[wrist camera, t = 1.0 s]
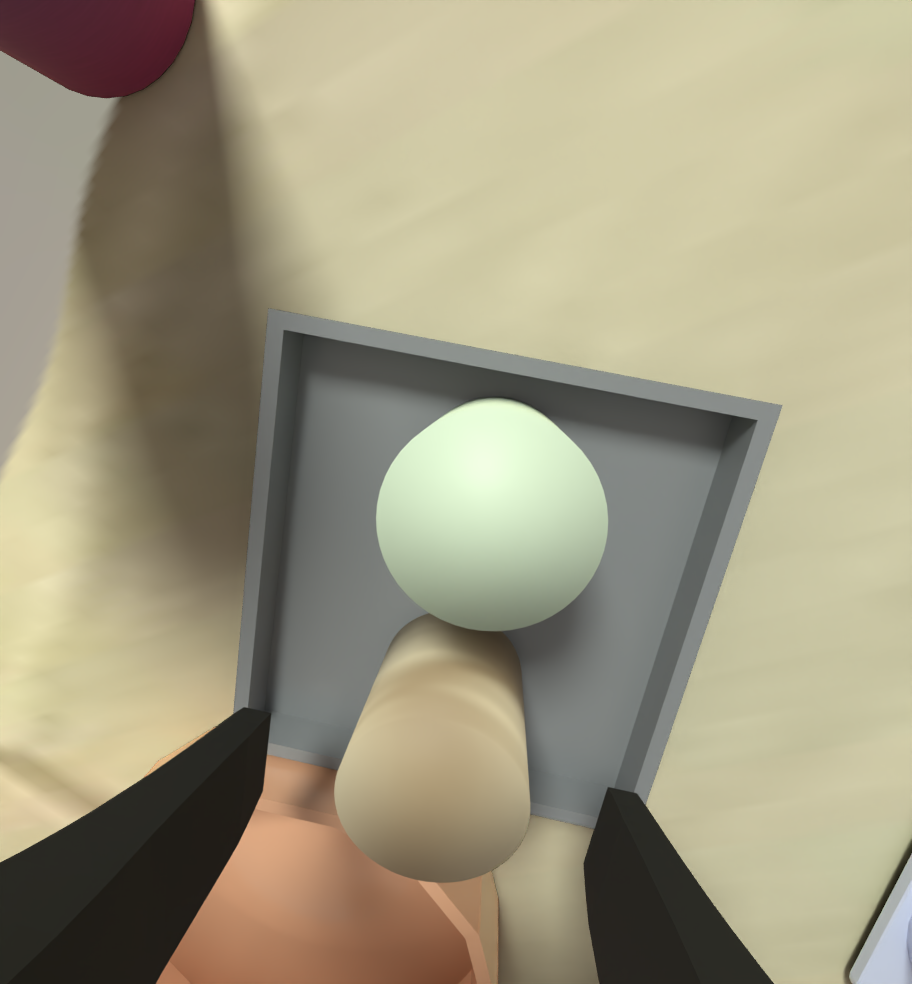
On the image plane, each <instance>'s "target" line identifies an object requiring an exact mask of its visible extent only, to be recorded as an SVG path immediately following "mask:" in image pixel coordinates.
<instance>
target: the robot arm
mask: <svg viewBox="0 0 912 984" xmlns="http://www.w3.org/2000/svg"><path fill="white" fill-rule="evenodd" d="M270 722H271V713H269V712H265V711H260V710H256V709H251V708H246V707H243V708H241V709H240V710H238V711H237V712H235V713H234V714H233V715H231V716H230V717H229V718H227V719H226V720H224V721H223V722H222V723H220V724H219V725H218V726H216V727H215V728H214V729H212V730H211V731H209V732H208V733H207V734H205V735H204V736H203V737H201V738H200V739H199V740H197V741H196V742H194V743H193V744H192V745H190V746H189V747H187V748H186V749H185V750H183V751H182V752H180V753H179V754H178V755H176V756H175V757H173V758H172V759H170V760H169V761H168V762H166V763H165V764H163V765H162V766H160V767H159V768H157V769H156V770H155V771H153V772H152V773H150V774H149V775H147V776H146V777H144V778H143V779H141V780H140V781H138V782H137V783H135V784H134V785H132V786H131V787H129V788H127V789H126V790H124V791H123V792H121V793H120V794H118V795H116V796H115V797H113V798H112V799H110V800H109V801H107V802H106V803H104V804H102V805H101V806H99V807H98V808H96V809H95V810H93V811H91V812H90V813H88V814H86V815H85V816H83V817H81V818H80V819H78V820H76V821H75V822H73V823H71V824H70V825H68V826H66V827H64V828H63V829H61V830H59V831H58V832H56V833H54V834H52V835H50V836H49V837H47V838H45V839H43V840H41V841H40V842H38V843H36V844H34V845H33V846H31V847H29V848H27V849H25V850H23V851H22V852H20V853H18V854H16V855H14V856H12V857H10V858H8V859H6V860H4V861H2V862H0V984H156V983H157V981H158V979H159V977H160V975H161V974H162V972H163V970H164V969H165V967H166V965H167V964H168V962H169V960H170V958H171V957H172V955H173V953H174V952H175V950H176V948H177V947H178V945H179V943H180V942H181V940H182V938H183V937H184V935H185V933H186V932H187V930H188V928H189V927H190V925H191V923H192V922H193V920H194V918H195V917H196V915H197V913H198V912H199V910H200V908H201V906H202V905H203V903H204V901H205V900H206V898H207V896H208V895H209V893H210V891H211V890H212V888H213V886H214V885H215V883H216V881H217V880H218V878H219V876H220V874H221V873H222V871H223V869H224V868H225V866H226V864H227V863H228V861H229V859H230V857H231V856H232V854H233V852H234V851H235V849H236V847H237V845H238V844H239V842H240V840H241V837H242V835H243V833H244V831H245V829H246V827H247V825H248V823H249V821H250V819H251V816H252V814H253V812H254V810H255V808H256V805H257V803H258V801H259V799H260V797H261V794H262V792H263V787H264V777H265V768H266V759H267V750H268V740H269V731H270ZM584 876H585V890H586V901H587V912H588V922H589V929H590V934H591V940H592V946H593V951H594V956H595V962H596V967H597V973H598V978H599V983H600V984H774V983H773V982H772V981H771V979H770V978H769V977H768V976H767V974H766V973H765V972H764V971H763V969H762V968H761V967H760V965H759V964H758V963H757V962H756V960H755V959H754V958H753V956H752V955H751V954H750V952H749V951H748V950H747V949H746V947H745V946H744V945H743V943H742V942H741V941H740V939H739V938H738V937H737V936H736V934H735V933H734V932H733V930H732V929H731V928H730V926H729V925H728V924H727V922H726V921H725V920H724V918H723V917H722V915H721V914H720V913H719V911H718V910H717V909H716V907H715V906H714V905H713V903H712V902H711V900H710V899H709V898H708V896H707V895H706V893H705V892H704V891H703V889H702V888H701V886H700V885H699V883H698V882H697V881H696V879H695V878H694V876H693V875H692V873H691V872H690V871H689V869H688V868H687V866H686V865H685V863H684V862H683V860H682V859H681V858H680V856H679V855H678V853H677V852H676V850H675V849H674V847H673V846H672V844H671V843H670V841H669V840H668V838H667V837H666V835H665V834H664V832H663V831H662V829H661V828H660V826H659V825H658V823H657V822H656V820H655V819H654V817H653V816H652V814H651V813H650V811H649V810H648V808H647V807H646V805H645V804H644V803H643V801H642V800H641V798H640V797H639V795H638V794H637V793H633V792H629V791H624V790H620V789H615V788H611V787H608V788H607V791H606V794H605V797H604V800H603V804H602V807H601V810H600V813H599V816H598V819H597V822H596V826H595V829H594V832H593V835H592V838H591V841H590V845H589V848H588V851H587V854H586V857H585V860H584ZM849 978H850V981H851V983H852V984H912V854H911V856H910V858H909V860H908V862H907V864H906V866H905V867H904V869H903V871H902V873H901V875H900V877H899V879H898V881H897V883H896V885H895V887H894V889H893V890H892V892H891V894H890V896H889V898H888V900H887V902H886V904H885V906H884V908H883V910H882V912H881V914H880V915H879V917H878V919H877V921H876V923H875V925H874V927H873V929H872V931H871V933H870V935H869V937H868V938H867V940H866V942H865V944H864V946H863V948H862V950H861V952H860V954H859V956H858V958H857V960H856V961H855V963H854V965H853V967H852V969H851V971H850V975H849Z"/></svg>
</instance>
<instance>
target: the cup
mask: <svg viewBox="0 0 912 984" xmlns="http://www.w3.org/2000/svg"><path fill="white" fill-rule="evenodd" d="M194 3H195V0H0V51H2V52H4V53H6V54H7V55H9V56H11V57H13V58H14V59H16V60H18V61H20V62H21V63H23V64H25V65H27V66H28V67H30V68H32V69H34V70H36V71H37V72H39V73H41V74H43V75H44V76H46V77H48V78H50V79H51V80H53V81H55V82H57V83H59V84H60V85H62V86H64V87H65V88H67V89H69V90H72V91H75V92H78V93H80V94H83V95H86V96H91V97H100V98H113V97H121V96H127V95H129V94H132V93H134V92H137V91H139V90H142V89H144V88H145V87H147V86H148V85H150V84H151V83H152V82H154V81H155V80H157V79H158V78H159V77H160V76H161V75H162V74H163V73H164V72H165V71H166V70H167V68H168V67H169V66H170V65H171V64H172V63H173V61H174V60H175V58H176V56H177V54H178V53H179V51H180V49H181V47H182V46H183V44H184V41H185V38H186V36H187V33H188V30H189V27H190V24H191V21H192V15H193V9H194Z"/></svg>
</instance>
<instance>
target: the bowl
mask: <svg viewBox="0 0 912 984" xmlns="http://www.w3.org/2000/svg"><path fill="white" fill-rule="evenodd" d="M214 728H215V727H213V728H212V729H214ZM212 729H211V730H212ZM211 730H209V731H211ZM209 731H207V732H206V733H204V734H202V735H201V736H199V737H197V738H196V739H194V740H193V741H191V742H189V743H188V744H186V745H184V746H183V747H181V748H179V749H178V750H176V751H174V752H173V753H171V754H169V755H168V756H166V757H165V758H163V759H161V760H160V761H158V762H157V763H156V764H155V765H154V766H153V768H152V769H151V770H150V771H149V772H148V773H147V774H146V776H147V775H149V774H150V773H152V772H153V771H155V770H156V769H157V768H159V767H160V766H162V765H163V764H165V763H166V762H168V761H169V760H170V759H172V758H173V757H175V756H176V755H178V754H179V753H180V752H182V751H183V750H185V749H186V748H187V747H189V746H190V745H192V744H193V743H194V742H196V741H197V740H199V739H200V738H201V737H203V736H204V735H205V734H207V733H208V732H209ZM337 771H338V770H334V769H329V768H325V767H321V766H316V765H312V764H308V763H303V762H299V761H294V760H290V759H286V758H281V757H277V756H272V755H268V754H267V759H266V768H265V777H264V787H263V792H262V794H261V797H260V799H259V801H258V803H257V805H256V808H255V810H254V812H253V814H252V816H251V819H250V821H249V823H248V825H247V827H246V829H245V831H244V833H243V835H242V837H241V840H240V842H239V844H238V845H237V847H236V849H235V851H234V852H233V854H232V856H231V857H230V859H229V861H228V863H227V864H226V866H225V868H224V869H223V871H222V873H221V874H220V876H219V878H218V880H217V881H216V883H215V885H214V886H213V888H212V890H211V891H210V893H209V895H208V896H207V898H206V900H205V901H204V903H203V905H202V906H201V908H200V910H199V912H198V913H197V915H196V917H195V918H194V920H193V922H192V923H191V925H190V927H189V928H188V930H187V932H186V933H185V935H184V937H183V938H182V940H181V942H180V943H179V945H178V947H177V948H176V950H175V952H174V953H173V955H172V957H171V958H170V960H169V962H168V964H167V965H166V967H165V969H164V970H163V972H162V974H161V975H160V977H159V979H158V981H157V983H156V984H498V896H497V891H496V887H495V883H494V879H493V875H492V871H490V872H488V873H486V874H484V875H481V876H479V877H476V878H473V879H469V880H465V881H459V882H451V883H435V882H425V881H420V880H414V879H411V878H407V877H404V876H401V875H399V874H396V873H394V872H391V871H389V870H388V869H386V868H384V867H382V866H380V865H379V864H377V863H376V862H374V861H373V860H371V859H370V858H369V857H368V856H366V855H365V854H364V853H363V852H362V851H361V850H360V849H359V848H358V847H357V846H356V845H355V844H354V843H353V841H352V840H351V839H350V837H349V836H348V835H347V833H346V831H345V829H344V828H343V826H342V824H341V822H340V819H339V816H338V814H337V810H336V805H335V797H334V787H335V780H336V775H337ZM146 776H145V777H146Z"/></svg>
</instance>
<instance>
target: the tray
mask: <svg viewBox="0 0 912 984" xmlns="http://www.w3.org/2000/svg"><path fill="white" fill-rule="evenodd" d="M484 397H505V398H511V399H515V400H519V401H521V402H524V403H526V404H529V405H531V406H532V407H534V408H536V409H538V410H539V411H540V412H542V413H543V414H544V415H545V416H547V417H548V418H549V419H550V420H551V421H552V422H553V423H554V424H555V425H556V426H557V427H558V428H559V429H560V430H561V431H562V432H564V433H565V434H566V435H567V436H568V437H569V438H570V439H571V440H572V441H573V442H574V443H575V444H576V445H577V446H578V447H579V448H580V449H581V450H582V452H583V453H584V454H585V456H586V457H587V458H588V460H589V461H590V462H591V464H592V466H593V468H594V469H595V471H596V473H597V475H598V477H599V480H600V482H601V485H602V487H603V490H604V494H605V499H606V503H607V511H608V533H607V540H606V545H605V550H604V552H603V555H602V558H601V561H600V564H599V566H598V568H597V570H596V572H595V573H594V575H593V577H592V579H591V580H590V581H589V583H588V584H587V586H586V587H585V589H584V590H583V591H582V592H581V593H580V594H579V595H578V596H577V597H576V598H575V599H574V600H573V601H572V602H571V603H570V604H568V605H567V606H566V607H565V608H564V609H562V610H561V611H559V612H558V613H556V614H554V615H553V616H551V617H549V618H547V619H545V620H543V621H541V622H539V623H536V624H533V625H530V626H527V627H523V628H519V629H514V630H506V631H502V632H503V633H504V634H505V635H506V637H507V638H508V639H509V640H510V641H511V643H512V645H513V646H514V648H515V650H516V652H517V655H518V657H519V661H520V664H521V671H522V685H523V700H524V715H525V731H526V746H527V761H528V776H529V791H530V814H531V815H536V816H540V817H545V818H549V819H553V820H558V821H562V822H567V823H571V824H575V825H580V826H584V827H588V828H593V829H595V826H596V822H597V819H598V816H599V813H600V810H601V807H602V804H603V800H604V797H605V794H606V791H607V788H608V787H611V788H615V789H620V790H624V791H629V792H633V793H637V794H638V795H639V797H640V798H641V800H642V801H643V803H644V804H645V805H646V802H647V799H648V796H649V793H650V790H651V787H652V784H653V781H654V779H655V776H656V773H657V770H658V767H659V764H660V761H661V758H662V755H663V752H664V749H665V746H666V744H667V741H668V738H669V735H670V732H671V729H672V726H673V723H674V720H675V717H676V714H677V712H678V709H679V706H680V703H681V700H682V697H683V694H684V691H685V688H686V685H687V682H688V679H689V677H690V674H691V671H692V668H693V665H694V662H695V659H696V656H697V653H698V650H699V647H700V644H701V642H702V639H703V636H704V633H705V630H706V627H707V624H708V621H709V618H710V615H711V612H712V609H713V607H714V604H715V601H716V598H717V595H718V592H719V589H720V586H721V583H722V580H723V577H724V574H725V572H726V569H727V566H728V563H729V560H730V557H731V554H732V551H733V548H734V545H735V542H736V539H737V537H738V534H739V531H740V528H741V525H742V522H743V519H744V516H745V513H746V510H747V507H748V504H749V502H750V499H751V496H752V493H753V490H754V487H755V484H756V481H757V478H758V475H759V472H760V469H761V467H762V464H763V461H764V458H765V455H766V452H767V449H768V446H769V443H770V440H771V437H772V435H773V432H774V429H775V426H776V423H777V420H778V417H779V414H780V411H781V408H782V405H778V404H772V403H767V402H762V401H757V400H751V399H746V398H741V397H735V396H730V395H725V394H719V393H714V392H709V391H704V390H698V389H693V388H688V387H682V386H677V385H672V384H667V383H661V382H656V381H651V380H645V379H640V378H635V377H629V376H624V375H619V374H614V373H608V372H603V371H598V370H592V369H587V368H582V367H576V366H571V365H566V364H561V363H555V362H550V361H545V360H539V359H534V358H529V357H524V356H518V355H513V354H508V353H502V352H497V351H492V350H486V349H481V348H476V347H471V346H465V345H460V344H455V343H449V342H444V341H439V340H434V339H428V338H423V337H418V336H412V335H407V334H402V333H396V332H391V331H386V330H381V329H375V328H370V327H365V326H359V325H354V324H349V323H344V322H338V321H333V320H328V319H322V318H317V317H312V316H306V315H301V314H296V313H291V312H285V311H280V310H275V309H269V308H268V318H267V329H266V341H265V352H264V364H263V376H262V387H261V399H260V410H259V422H258V434H257V445H256V457H255V468H254V480H253V492H252V503H251V515H250V526H249V538H248V550H247V561H246V573H245V585H244V596H243V608H242V619H241V631H240V643H239V654H238V666H237V677H236V689H235V701H234V712H233V714H234V713H235V712H237V711H238V710H240V709H241V708H243V707H246V708H251V709H256V710H260V711H265V712H269V713H271V722H270V731H269V740H268V750H267V754H268V755H272V756H277V757H281V758H286V759H290V760H294V761H299V762H303V763H308V764H312V765H316V766H321V767H325V768H329V769H334V770H338V769H339V767H340V764H341V762H342V759H343V757H344V754H345V752H346V750H347V747H348V745H349V742H350V740H351V737H352V735H353V733H354V730H355V728H356V725H357V723H358V720H359V718H360V716H361V713H362V711H363V708H364V706H365V703H366V701H367V699H368V696H369V694H370V691H371V689H372V686H373V684H374V682H375V679H376V677H377V674H378V672H379V669H380V667H381V664H382V662H383V660H384V657H385V655H386V652H387V650H388V647H389V645H390V643H391V641H392V640H393V638H394V637H395V635H396V634H397V633H398V632H399V631H400V630H401V629H402V628H403V627H404V626H405V625H406V624H408V623H409V622H411V621H412V620H414V619H416V618H418V617H420V616H422V615H425V614H428V612H427V611H426V610H424V609H423V608H421V607H420V606H419V605H417V604H416V603H415V602H414V601H413V600H412V599H411V598H410V597H409V596H408V595H407V594H406V593H405V592H404V591H403V590H402V589H401V587H400V586H399V585H398V584H397V582H396V581H395V579H394V578H393V576H392V574H391V573H390V571H389V569H388V567H387V565H386V563H385V561H384V558H383V555H382V552H381V549H380V546H379V541H378V536H377V527H376V512H377V502H378V497H379V493H380V489H381V486H382V483H383V481H384V478H385V475H386V473H387V472H388V470H389V468H390V466H391V464H392V462H393V461H394V460H395V458H396V457H397V455H398V454H399V453H400V451H401V450H402V449H403V448H404V447H405V446H406V445H407V444H408V443H409V442H410V441H411V440H412V439H413V438H414V437H415V436H417V435H418V434H419V433H420V432H422V431H423V430H424V429H426V428H427V427H428V426H430V425H431V424H432V423H434V422H435V421H437V420H438V419H439V418H441V417H442V416H443V415H445V414H446V413H447V412H449V411H450V410H452V409H453V408H455V407H457V406H459V405H461V404H463V403H465V402H468V401H471V400H474V399H478V398H484Z"/></svg>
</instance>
